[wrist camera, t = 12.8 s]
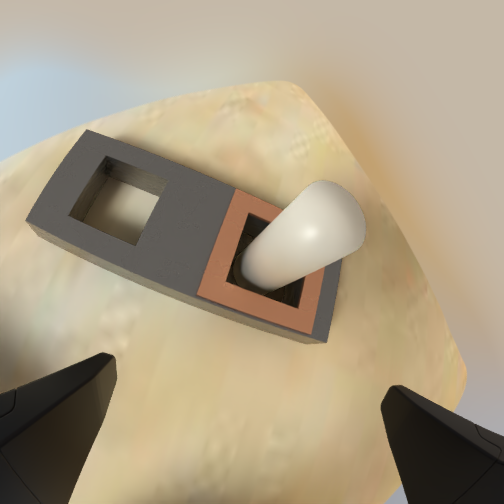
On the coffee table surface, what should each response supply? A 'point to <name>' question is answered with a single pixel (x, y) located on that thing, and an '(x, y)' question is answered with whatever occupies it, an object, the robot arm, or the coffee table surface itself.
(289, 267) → the peg
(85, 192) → the rail
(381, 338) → the coffee table surface
